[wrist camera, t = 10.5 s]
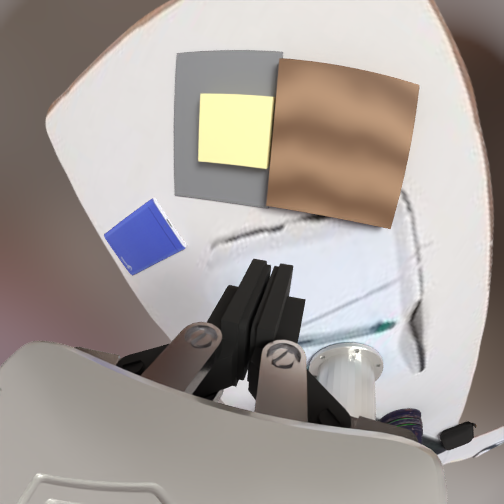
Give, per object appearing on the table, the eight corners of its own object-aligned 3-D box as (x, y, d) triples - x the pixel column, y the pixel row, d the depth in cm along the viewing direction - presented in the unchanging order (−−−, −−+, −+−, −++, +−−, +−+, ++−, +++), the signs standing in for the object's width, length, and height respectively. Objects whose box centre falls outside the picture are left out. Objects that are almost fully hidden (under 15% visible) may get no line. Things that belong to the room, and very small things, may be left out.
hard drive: (131, 276, 44) (184, 249, 38) (102, 235, 41) (150, 199, 36) (136, 271, 45) (189, 244, 40) (108, 231, 42) (156, 195, 37)
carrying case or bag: (476, 432, 50) (475, 415, 46) (477, 440, 47) (476, 425, 43) (444, 444, 55) (438, 430, 51) (445, 453, 52) (439, 439, 48)
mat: (268, 207, 33) (268, 208, 33) (176, 194, 36) (175, 195, 35) (282, 52, 24) (282, 51, 24) (178, 53, 26) (176, 53, 26)
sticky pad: (270, 164, 31) (266, 168, 29) (205, 157, 32) (198, 161, 30) (276, 97, 27) (272, 96, 25) (207, 93, 28) (200, 93, 26)
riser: (387, 221, 31) (390, 229, 29) (269, 199, 33) (266, 205, 31) (413, 85, 22) (419, 85, 21) (282, 60, 25) (279, 58, 23)
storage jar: (403, 404, 46) (406, 468, 34) (429, 413, 47) (433, 471, 34) (370, 422, 52) (367, 481, 39) (397, 430, 52) (397, 484, 40)
